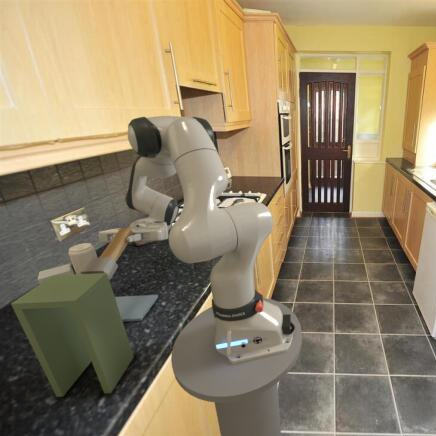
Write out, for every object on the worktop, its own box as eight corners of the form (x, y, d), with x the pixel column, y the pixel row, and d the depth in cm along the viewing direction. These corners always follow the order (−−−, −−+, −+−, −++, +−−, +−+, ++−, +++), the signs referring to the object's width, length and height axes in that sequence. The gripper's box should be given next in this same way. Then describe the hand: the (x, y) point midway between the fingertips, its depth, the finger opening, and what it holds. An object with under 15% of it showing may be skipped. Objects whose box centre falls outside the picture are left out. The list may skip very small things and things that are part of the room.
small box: (82, 294, 97) (70, 263, 92) (82, 303, 92) (70, 270, 88) (52, 303, 92) (38, 271, 88) (51, 313, 88) (36, 279, 83)
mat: (158, 296, 95) (157, 294, 95) (141, 320, 84) (140, 318, 84) (111, 299, 94) (110, 297, 94) (88, 323, 83) (87, 321, 83)
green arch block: (134, 357, 71) (107, 272, 62) (111, 393, 62) (75, 300, 53) (86, 360, 70) (52, 275, 61) (56, 397, 61) (10, 303, 52)
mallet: (138, 234, 89) (133, 225, 86) (109, 280, 74) (103, 270, 71) (119, 234, 88) (114, 225, 86) (87, 281, 74) (79, 271, 71)
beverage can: (82, 280, 105) (72, 253, 101) (73, 274, 109) (63, 248, 105) (105, 270, 112) (97, 245, 108) (95, 265, 116) (87, 240, 112)
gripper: (112, 223, 96) (83, 231, 82) (171, 221, 97) (152, 229, 84) (114, 240, 97) (86, 251, 83) (172, 238, 98) (154, 248, 85)
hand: (119, 240), depth 84 cm, fingers closed on mallet, 3 cm apart
